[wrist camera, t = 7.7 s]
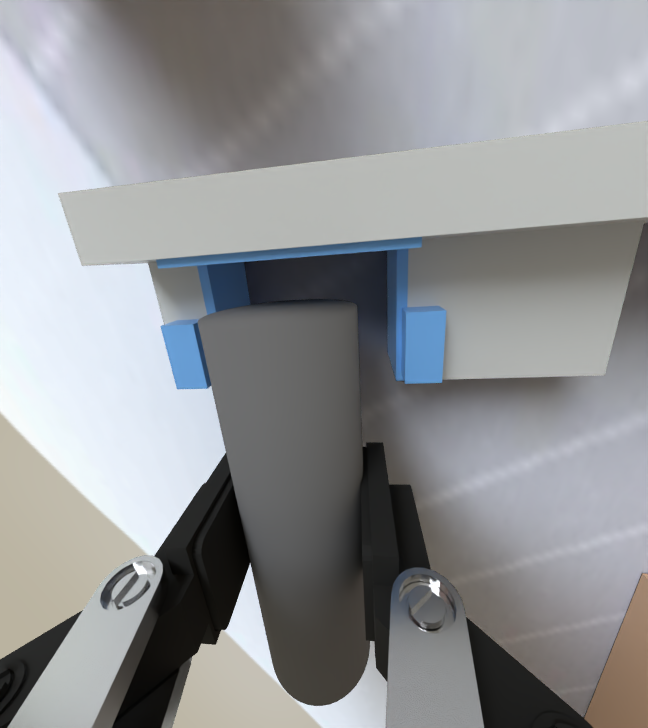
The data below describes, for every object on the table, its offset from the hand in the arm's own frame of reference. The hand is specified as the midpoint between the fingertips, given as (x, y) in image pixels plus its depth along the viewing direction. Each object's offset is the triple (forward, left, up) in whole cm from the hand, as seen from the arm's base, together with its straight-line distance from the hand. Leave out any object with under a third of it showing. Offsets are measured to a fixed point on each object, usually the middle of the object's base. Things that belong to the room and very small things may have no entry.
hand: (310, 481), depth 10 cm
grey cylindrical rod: (0, 0, -1) cm, 1 cm away
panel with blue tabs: (-6, -6, -4) cm, 9 cm away
